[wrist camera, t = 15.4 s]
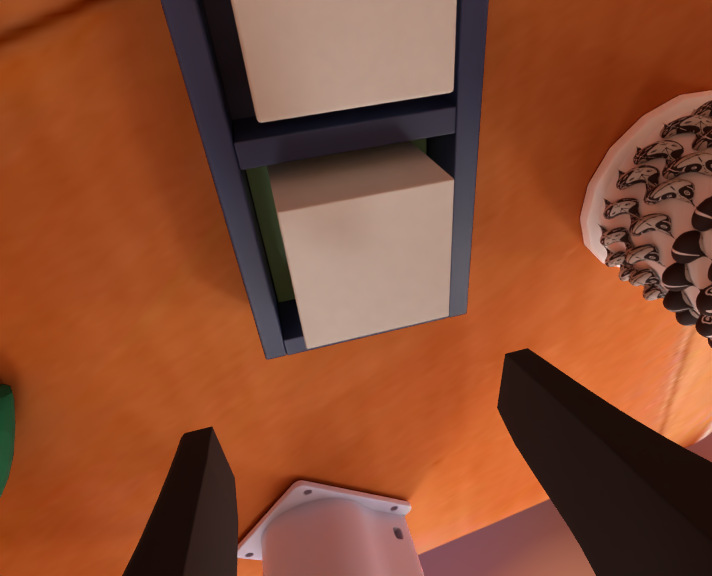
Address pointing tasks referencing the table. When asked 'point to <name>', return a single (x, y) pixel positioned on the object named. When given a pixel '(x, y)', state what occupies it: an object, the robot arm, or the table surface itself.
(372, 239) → the white squarish block
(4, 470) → the gaming controller
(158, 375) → the table surface
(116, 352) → the table surface
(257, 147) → the holder
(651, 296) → the decorative candle
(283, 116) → the beige block
